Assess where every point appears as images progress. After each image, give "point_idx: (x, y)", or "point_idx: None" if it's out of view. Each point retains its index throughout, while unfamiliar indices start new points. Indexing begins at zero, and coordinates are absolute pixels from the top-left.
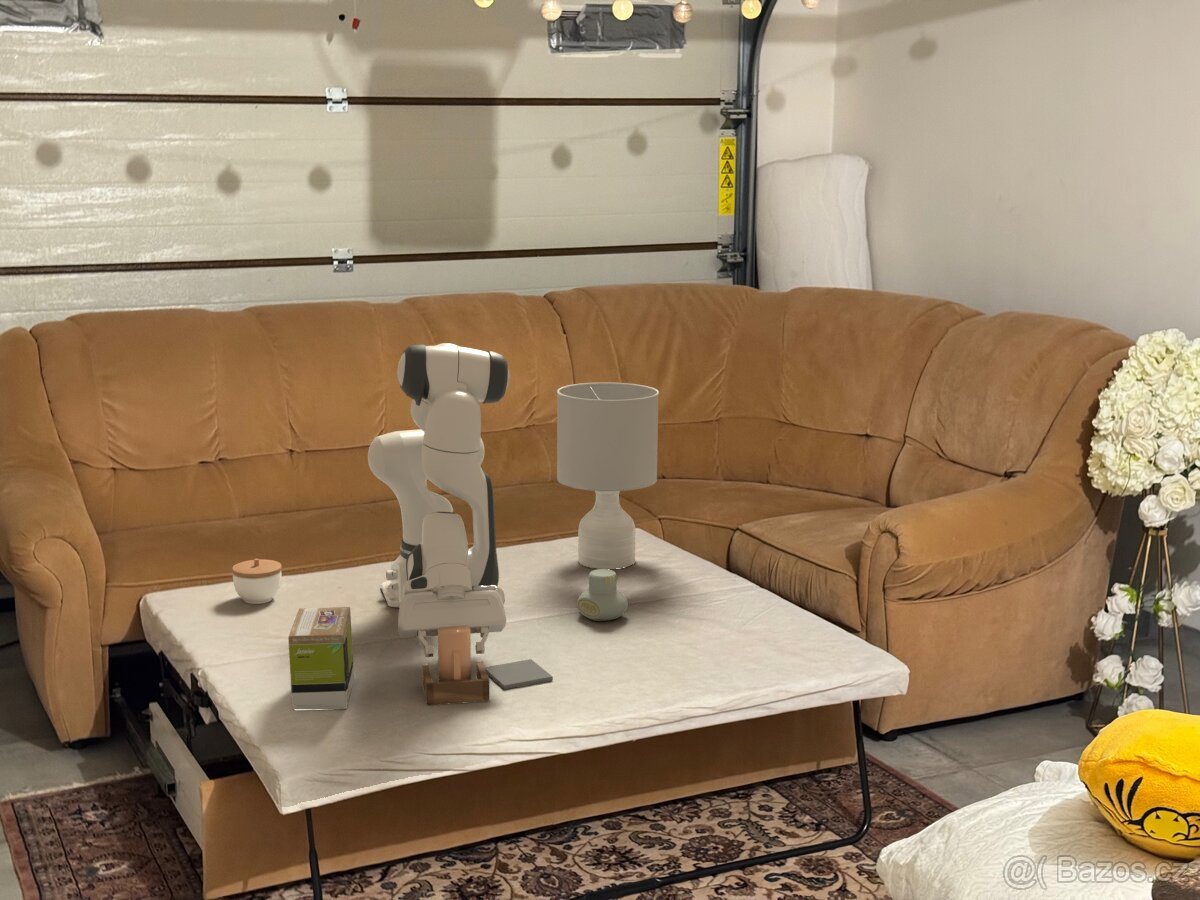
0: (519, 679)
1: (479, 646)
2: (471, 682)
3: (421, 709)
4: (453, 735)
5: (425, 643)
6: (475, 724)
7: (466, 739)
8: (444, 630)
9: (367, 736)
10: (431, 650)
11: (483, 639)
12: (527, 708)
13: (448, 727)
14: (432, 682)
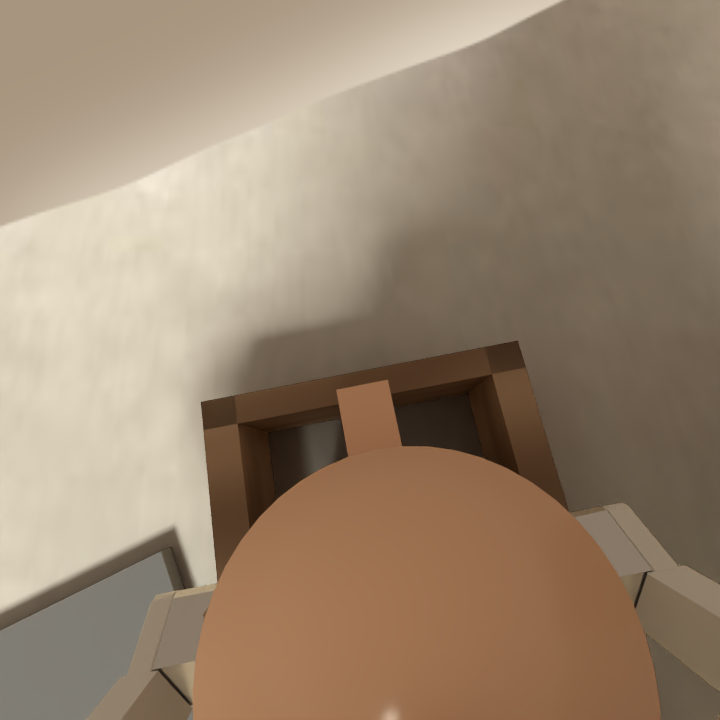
0: (81, 631)
1: (185, 615)
2: (293, 385)
3: (504, 331)
4: (359, 133)
5: (688, 583)
6: (290, 211)
7: (316, 109)
8: (551, 645)
9: (642, 118)
10: (590, 524)
11: (119, 696)
12: (97, 345)
13: (381, 187)
14: (493, 372)
